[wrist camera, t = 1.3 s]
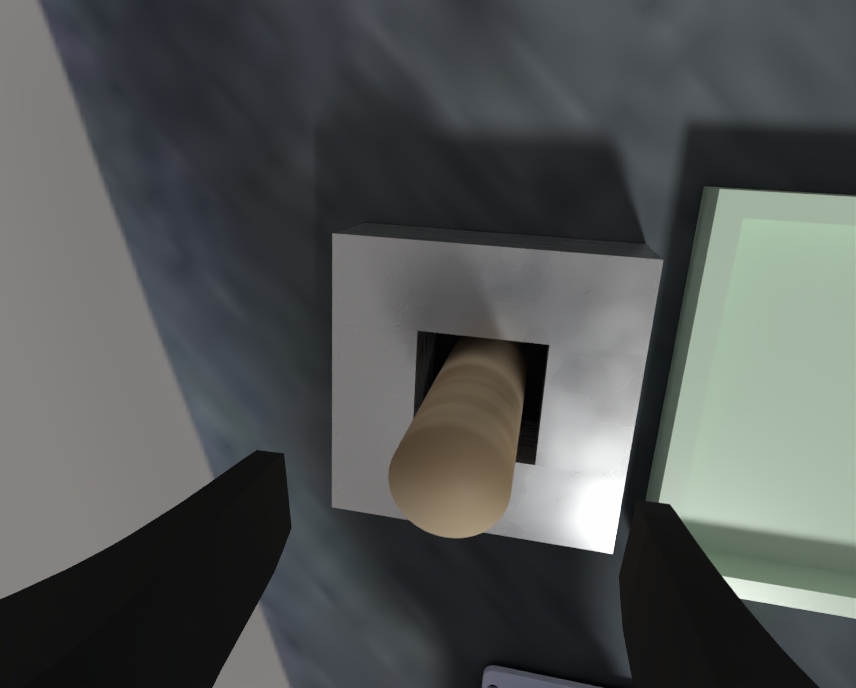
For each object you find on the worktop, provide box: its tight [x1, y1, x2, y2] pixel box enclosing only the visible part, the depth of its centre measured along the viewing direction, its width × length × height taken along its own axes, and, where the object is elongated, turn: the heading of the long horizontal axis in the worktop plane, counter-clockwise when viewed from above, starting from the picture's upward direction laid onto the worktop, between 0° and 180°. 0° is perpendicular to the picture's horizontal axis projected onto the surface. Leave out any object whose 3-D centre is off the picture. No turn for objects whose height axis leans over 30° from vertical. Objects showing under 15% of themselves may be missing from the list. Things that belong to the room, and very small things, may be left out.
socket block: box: [332, 223, 663, 554], centre depth 21 cm, size 10×10×4 cm
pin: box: [388, 336, 528, 538], centre depth 18 cm, size 3×3×9 cm
